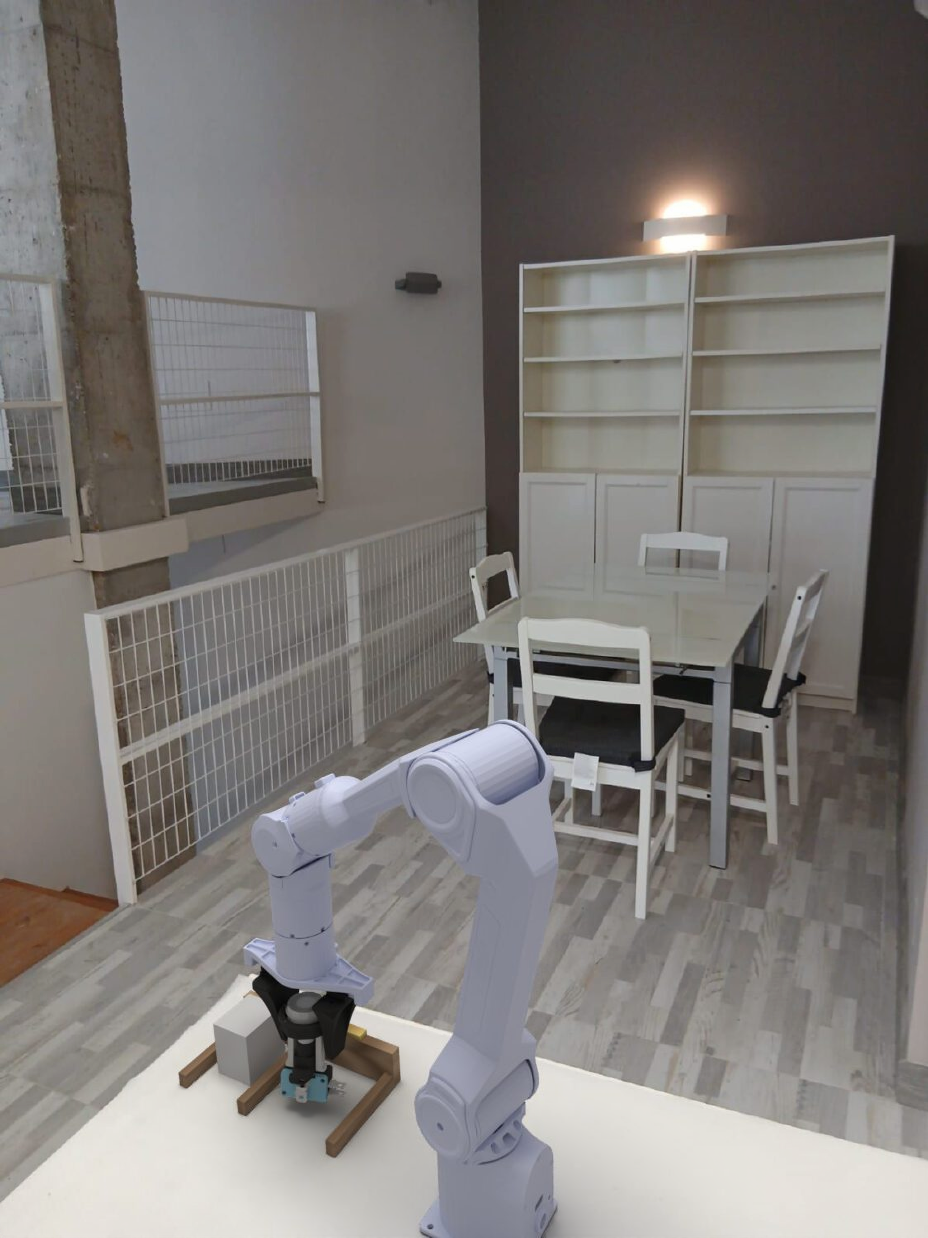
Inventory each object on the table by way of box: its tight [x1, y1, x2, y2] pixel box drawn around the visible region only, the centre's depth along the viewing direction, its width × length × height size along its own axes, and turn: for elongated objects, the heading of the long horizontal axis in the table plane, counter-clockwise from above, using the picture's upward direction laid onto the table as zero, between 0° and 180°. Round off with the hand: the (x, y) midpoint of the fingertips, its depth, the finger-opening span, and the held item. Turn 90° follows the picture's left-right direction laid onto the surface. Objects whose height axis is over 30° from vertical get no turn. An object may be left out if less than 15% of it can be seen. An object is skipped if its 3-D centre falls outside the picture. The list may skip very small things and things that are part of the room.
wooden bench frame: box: [178, 990, 402, 1158], centre depth 95 cm, size 20×11×5 cm, turn 61°
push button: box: [278, 991, 347, 1104], centre depth 90 cm, size 7×5×10 cm
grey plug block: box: [212, 994, 287, 1087], centre depth 98 cm, size 4×6×6 cm
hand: (312, 1044), depth 91 cm, fingers closed on push button, 5 cm apart
